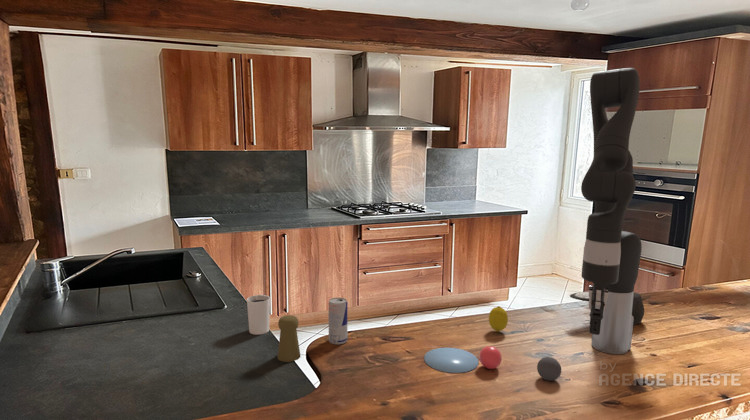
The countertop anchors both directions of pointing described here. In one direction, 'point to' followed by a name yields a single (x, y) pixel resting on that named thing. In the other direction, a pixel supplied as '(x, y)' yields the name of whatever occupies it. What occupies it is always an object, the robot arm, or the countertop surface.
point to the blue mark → (451, 360)
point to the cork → (288, 339)
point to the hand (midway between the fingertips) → (594, 333)
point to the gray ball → (549, 368)
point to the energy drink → (338, 320)
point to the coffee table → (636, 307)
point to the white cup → (258, 314)
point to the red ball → (490, 357)
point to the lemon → (498, 318)
